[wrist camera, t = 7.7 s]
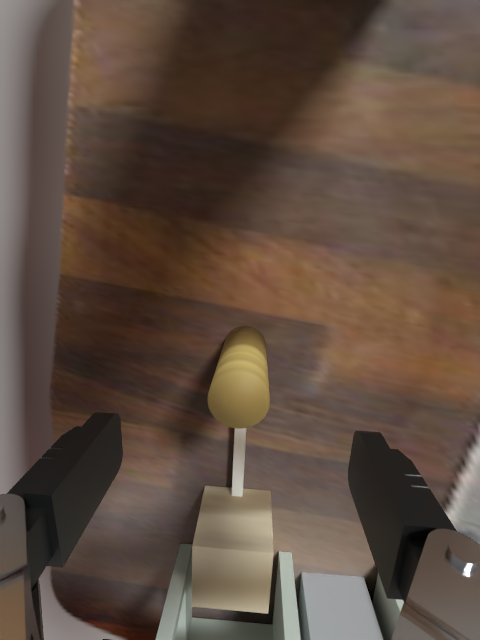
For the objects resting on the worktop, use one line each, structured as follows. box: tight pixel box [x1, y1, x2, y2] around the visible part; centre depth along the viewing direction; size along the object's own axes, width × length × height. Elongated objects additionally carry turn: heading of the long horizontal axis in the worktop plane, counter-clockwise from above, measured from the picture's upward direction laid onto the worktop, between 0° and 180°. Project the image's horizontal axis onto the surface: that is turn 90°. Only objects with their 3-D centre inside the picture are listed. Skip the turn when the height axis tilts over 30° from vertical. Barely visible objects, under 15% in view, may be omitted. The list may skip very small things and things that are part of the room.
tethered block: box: [192, 327, 274, 614], centre depth 20 cm, size 18×5×8 cm, turn 177°
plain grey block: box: [298, 572, 383, 640], centre depth 25 cm, size 5×5×5 cm
